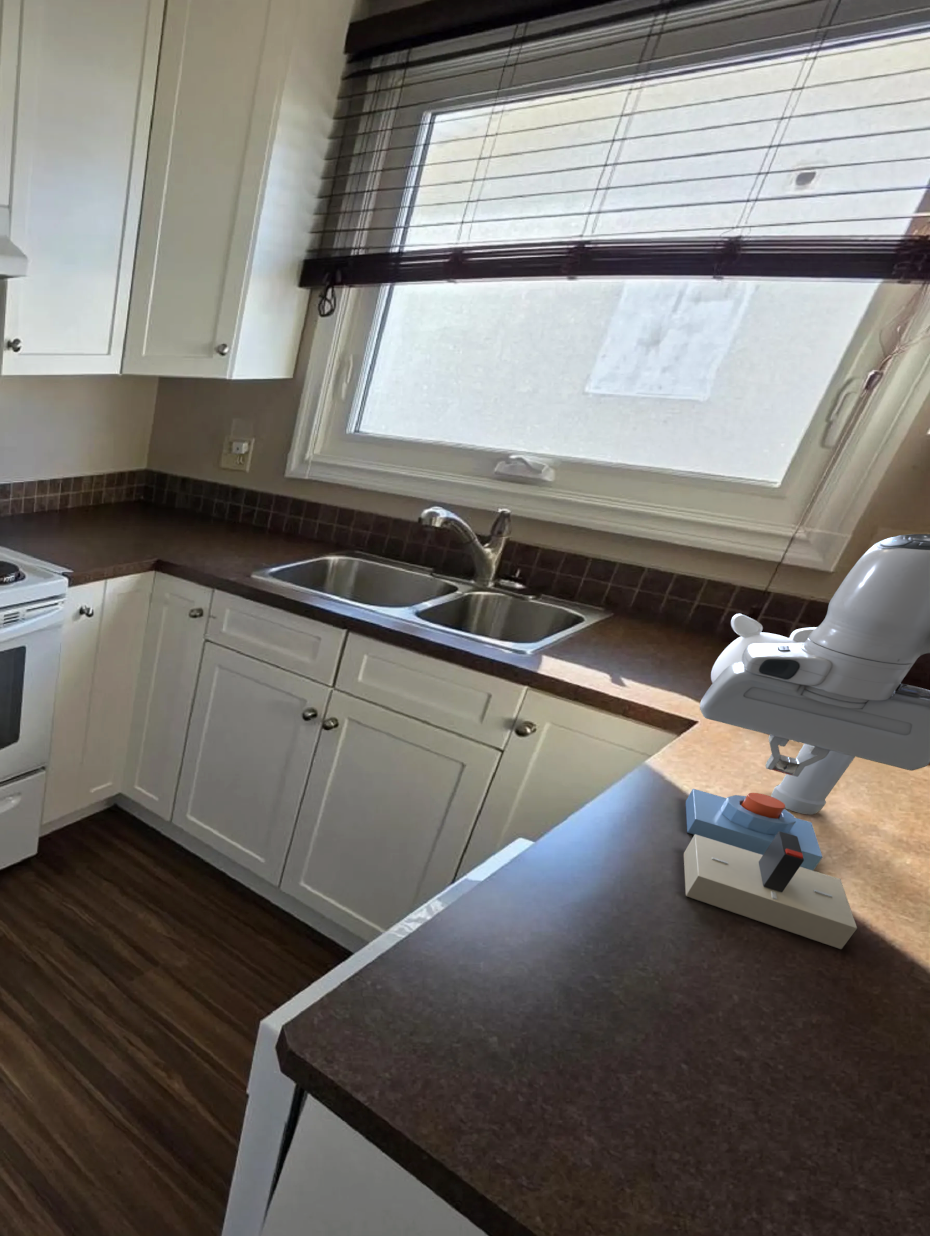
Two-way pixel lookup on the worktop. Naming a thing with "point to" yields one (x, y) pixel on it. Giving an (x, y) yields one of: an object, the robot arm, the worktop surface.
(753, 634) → the piggy bank
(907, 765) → the robot arm
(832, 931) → the box
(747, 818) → the button housing
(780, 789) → the bottle
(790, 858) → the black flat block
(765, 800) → the button
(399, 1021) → the worktop surface
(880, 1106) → the worktop surface
